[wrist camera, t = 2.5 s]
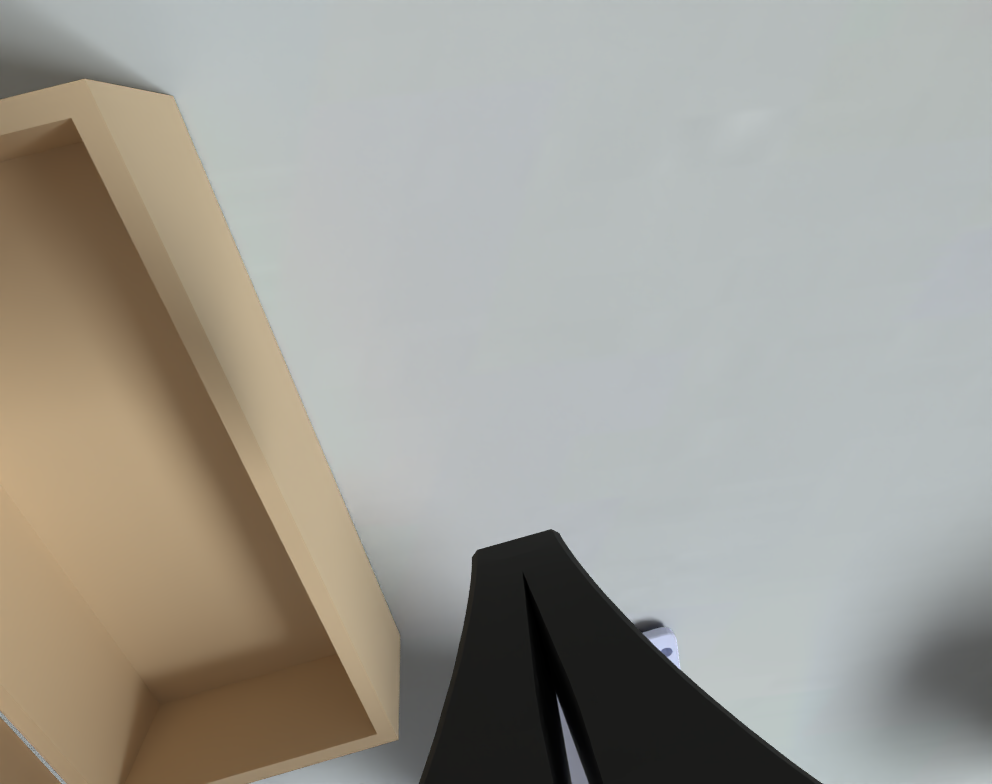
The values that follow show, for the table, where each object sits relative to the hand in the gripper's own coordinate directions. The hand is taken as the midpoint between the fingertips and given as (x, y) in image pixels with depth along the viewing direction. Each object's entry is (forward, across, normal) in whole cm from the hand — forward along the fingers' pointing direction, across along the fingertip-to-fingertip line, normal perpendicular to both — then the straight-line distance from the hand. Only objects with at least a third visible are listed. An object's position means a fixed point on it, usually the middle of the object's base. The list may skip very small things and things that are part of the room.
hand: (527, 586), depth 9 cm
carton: (+9, +10, 0) cm, 13 cm away
